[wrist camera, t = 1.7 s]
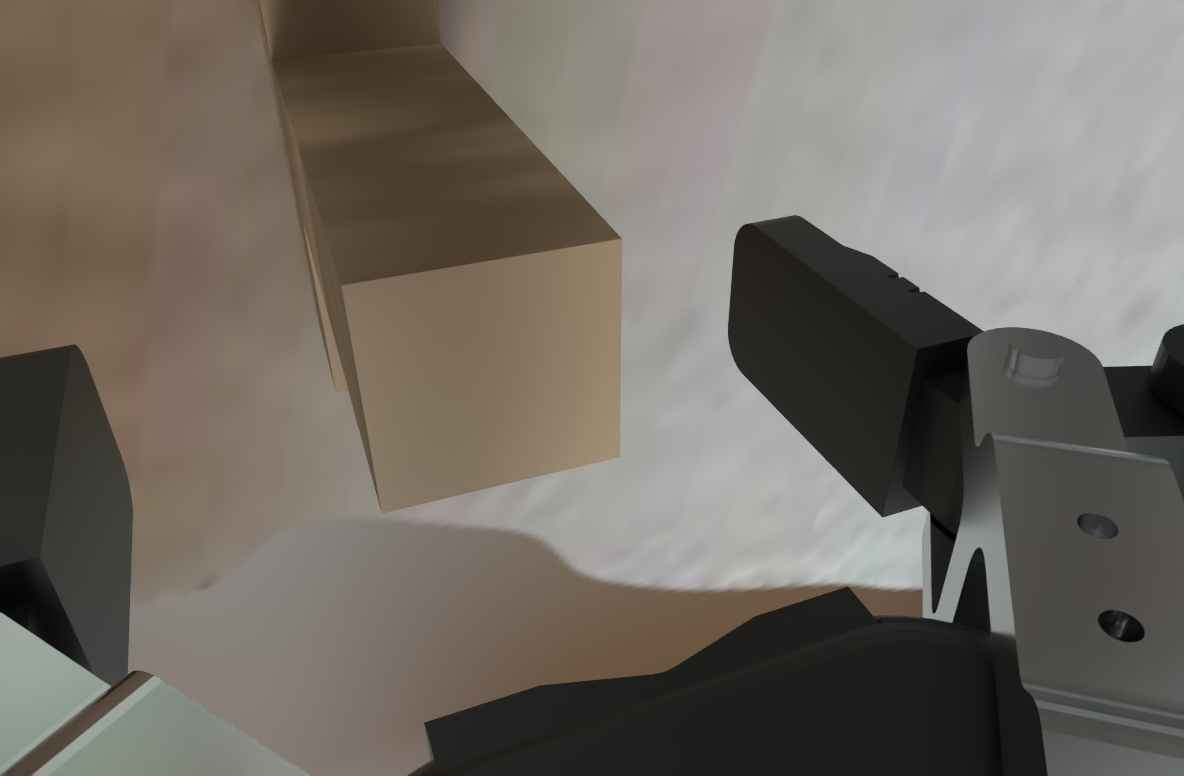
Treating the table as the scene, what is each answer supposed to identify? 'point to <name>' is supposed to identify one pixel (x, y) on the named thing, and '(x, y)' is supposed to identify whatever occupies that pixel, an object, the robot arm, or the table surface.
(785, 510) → the table surface
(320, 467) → the table surface
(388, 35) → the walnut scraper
